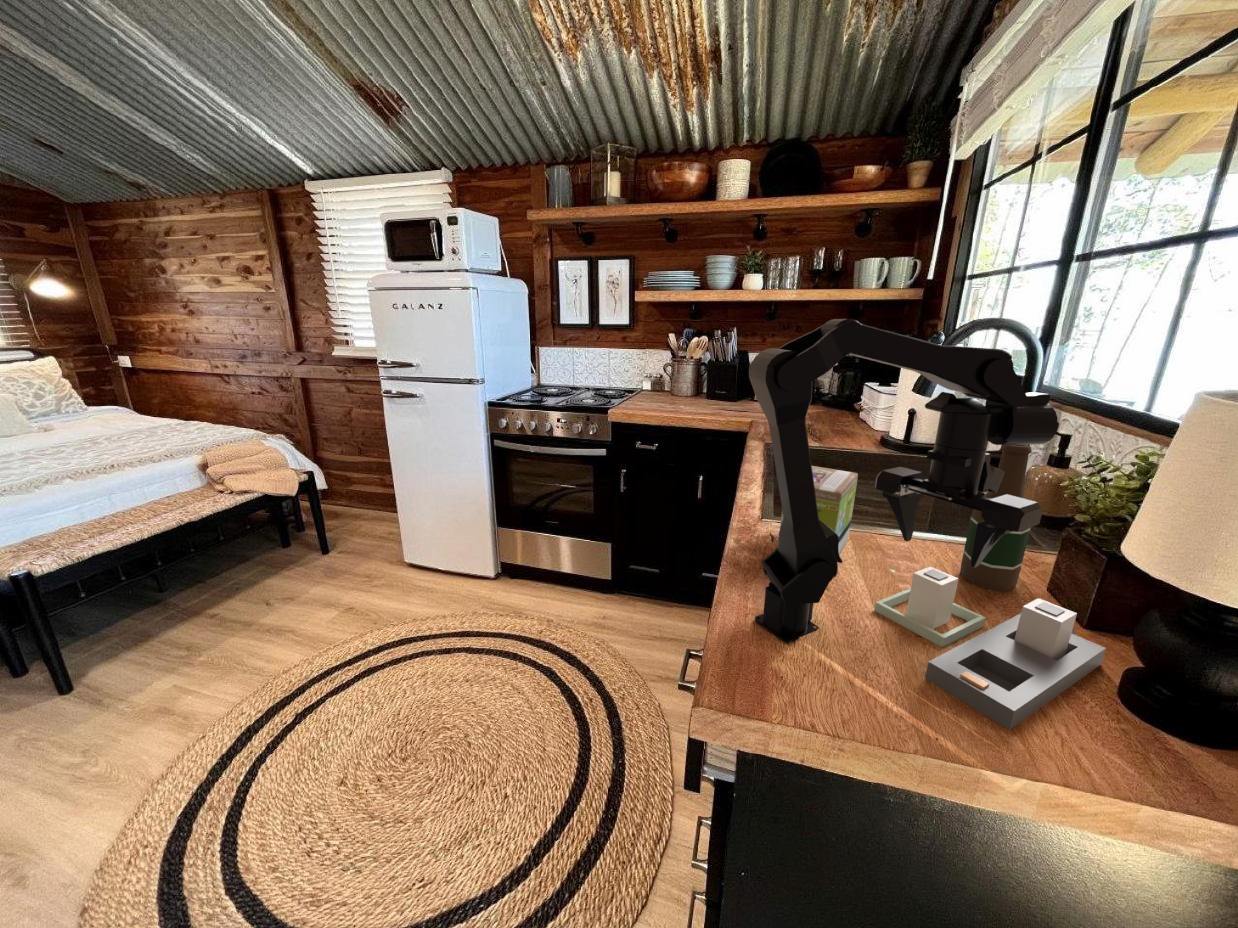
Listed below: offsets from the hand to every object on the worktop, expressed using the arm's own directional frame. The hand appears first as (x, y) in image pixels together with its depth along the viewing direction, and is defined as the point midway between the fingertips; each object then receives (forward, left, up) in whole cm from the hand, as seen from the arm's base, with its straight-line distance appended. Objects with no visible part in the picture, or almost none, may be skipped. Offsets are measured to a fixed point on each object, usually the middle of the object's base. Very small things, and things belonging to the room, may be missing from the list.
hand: (939, 552), depth 70 cm
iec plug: (0, 0, -11) cm, 11 cm away
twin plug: (+4, -12, -10) cm, 16 cm away
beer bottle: (+20, +2, -11) cm, 23 cm away
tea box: (+5, +25, -11) cm, 28 cm away
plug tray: (0, 0, -11) cm, 11 cm away
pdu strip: (0, -12, -11) cm, 16 cm away
